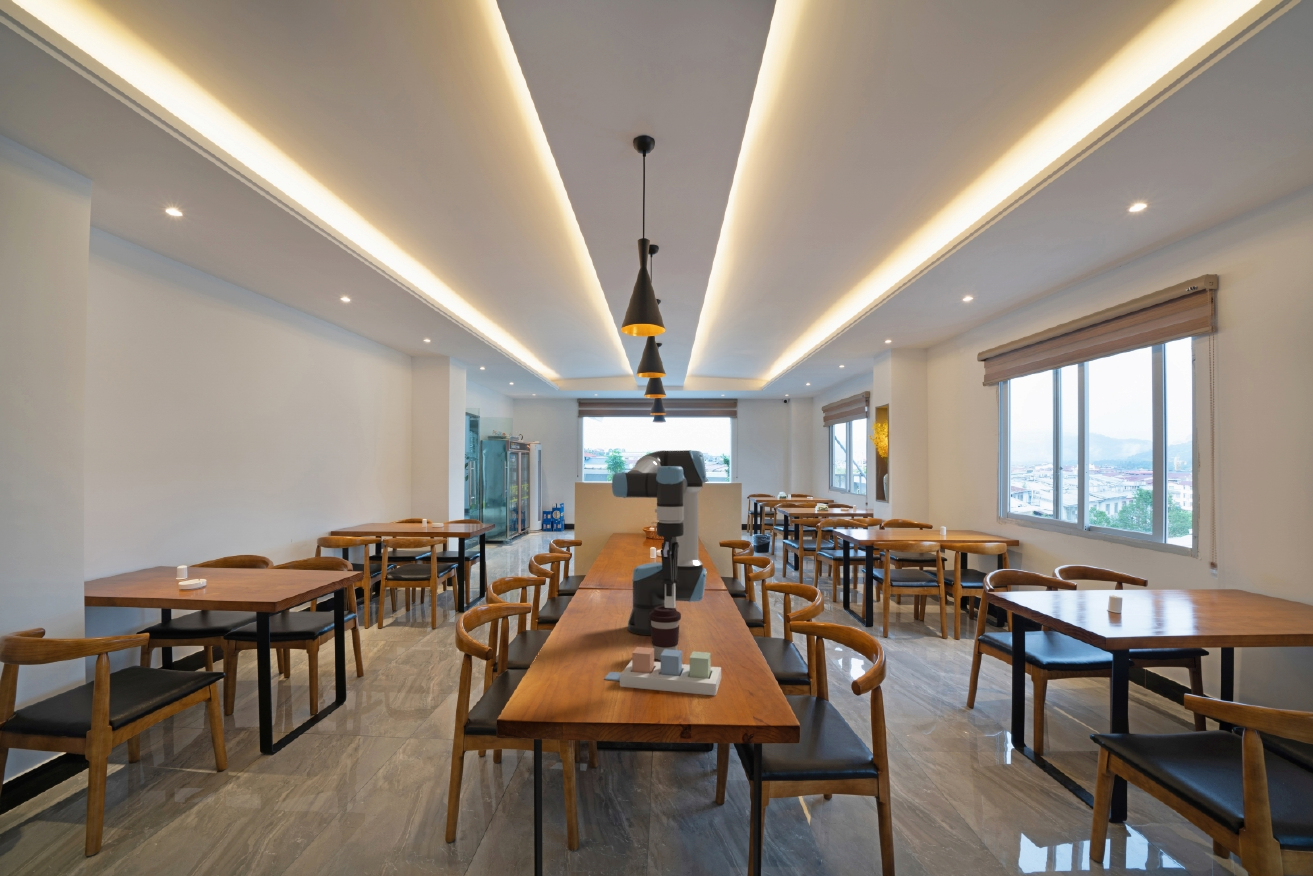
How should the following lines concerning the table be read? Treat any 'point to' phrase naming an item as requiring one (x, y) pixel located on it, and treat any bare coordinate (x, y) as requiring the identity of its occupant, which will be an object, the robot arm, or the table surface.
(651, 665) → the button terracotta
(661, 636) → the coffee cup
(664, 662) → the button slate
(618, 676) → the swatch
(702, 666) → the button sage
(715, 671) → the button board
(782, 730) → the table surface
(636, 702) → the table surface
